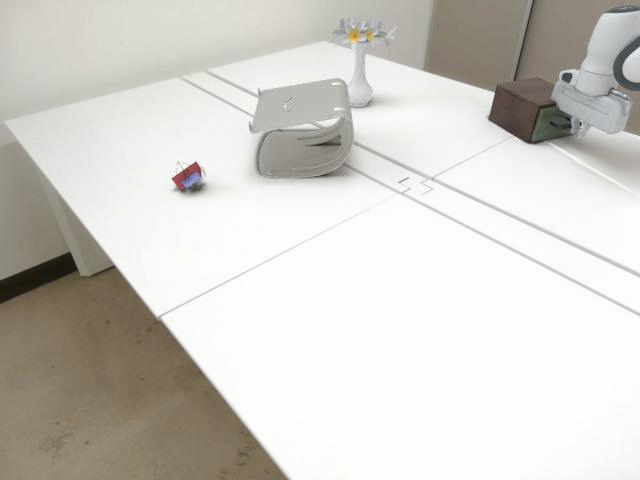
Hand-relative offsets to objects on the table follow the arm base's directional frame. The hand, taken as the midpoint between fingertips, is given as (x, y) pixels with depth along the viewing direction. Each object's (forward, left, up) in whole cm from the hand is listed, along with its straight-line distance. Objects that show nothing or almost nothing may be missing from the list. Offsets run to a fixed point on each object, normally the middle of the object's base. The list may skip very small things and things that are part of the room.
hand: (576, 135), depth 116 cm
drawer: (0, -12, -4) cm, 13 cm away
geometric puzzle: (+95, -19, -5) cm, 97 cm away
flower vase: (+37, -50, -5) cm, 62 cm away
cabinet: (0, -16, -4) cm, 17 cm away
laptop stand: (+65, -25, -5) cm, 70 cm away
